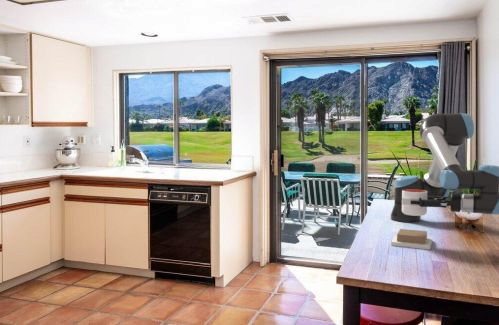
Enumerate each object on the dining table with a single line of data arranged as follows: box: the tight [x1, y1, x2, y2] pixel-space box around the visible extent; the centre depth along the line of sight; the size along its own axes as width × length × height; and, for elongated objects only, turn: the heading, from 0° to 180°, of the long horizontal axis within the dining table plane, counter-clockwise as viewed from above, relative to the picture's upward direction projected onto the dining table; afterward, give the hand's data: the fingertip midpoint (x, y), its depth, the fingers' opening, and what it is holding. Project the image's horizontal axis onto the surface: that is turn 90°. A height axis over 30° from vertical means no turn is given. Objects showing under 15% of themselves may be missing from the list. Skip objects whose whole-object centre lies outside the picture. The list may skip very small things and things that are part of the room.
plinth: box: [390, 228, 433, 251], centre depth 188 cm, size 15×15×4 cm
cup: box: [402, 189, 428, 217], centre depth 188 cm, size 10×10×10 cm
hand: (403, 199), depth 189 cm, fingers closed on cup, 10 cm apart
